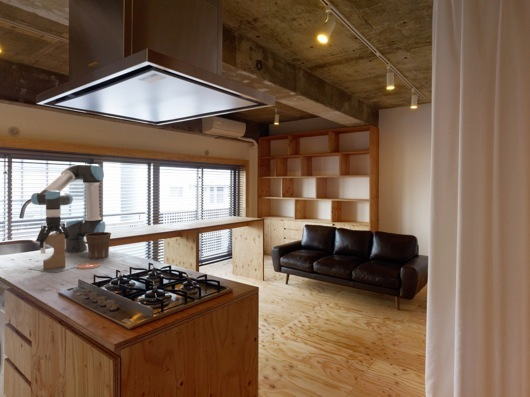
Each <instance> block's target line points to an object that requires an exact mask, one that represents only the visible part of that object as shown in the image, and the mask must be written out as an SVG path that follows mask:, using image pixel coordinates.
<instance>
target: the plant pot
mask: <svg viewBox="0 0 530 397" xmlns="http://www.w3.org/2000/svg"><path fill="white" fill-rule="evenodd" d="M111 235H112V232H107V231H104V232H95V233H88V234H86V235H85V236H86V237H85V239H86V241H85V242H86V246H87V251H88V258H89V259H92V260H95V259H105V258H108V257H109V253H110V240H111Z"/></svg>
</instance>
